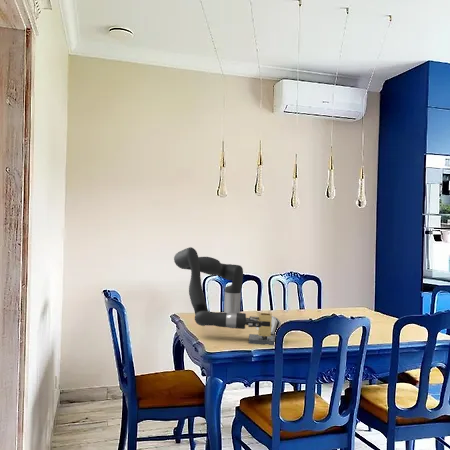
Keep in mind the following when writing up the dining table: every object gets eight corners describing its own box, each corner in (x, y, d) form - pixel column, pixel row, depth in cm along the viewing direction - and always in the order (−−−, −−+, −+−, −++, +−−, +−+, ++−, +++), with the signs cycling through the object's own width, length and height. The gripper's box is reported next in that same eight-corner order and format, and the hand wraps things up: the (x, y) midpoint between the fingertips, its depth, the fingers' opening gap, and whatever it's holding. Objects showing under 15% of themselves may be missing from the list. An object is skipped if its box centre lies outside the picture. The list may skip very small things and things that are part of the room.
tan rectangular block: (258, 332, 234) (259, 312, 234) (270, 333, 234) (271, 313, 234) (258, 335, 228) (259, 314, 228) (270, 336, 228) (271, 315, 228)
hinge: (255, 328, 259) (261, 311, 261) (262, 331, 261) (268, 314, 262) (269, 336, 244) (275, 317, 245) (276, 338, 245) (283, 320, 247)
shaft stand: (249, 338, 237) (249, 324, 237) (279, 339, 236) (280, 325, 236) (248, 343, 226) (249, 328, 226) (280, 345, 225) (280, 330, 225)
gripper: (235, 315, 225) (270, 317, 224) (237, 310, 240) (270, 312, 238) (234, 331, 225) (270, 333, 224) (236, 325, 240) (269, 327, 238)
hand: (270, 322), depth 231 cm, fingers closed on tan rectangular block, 6 cm apart
